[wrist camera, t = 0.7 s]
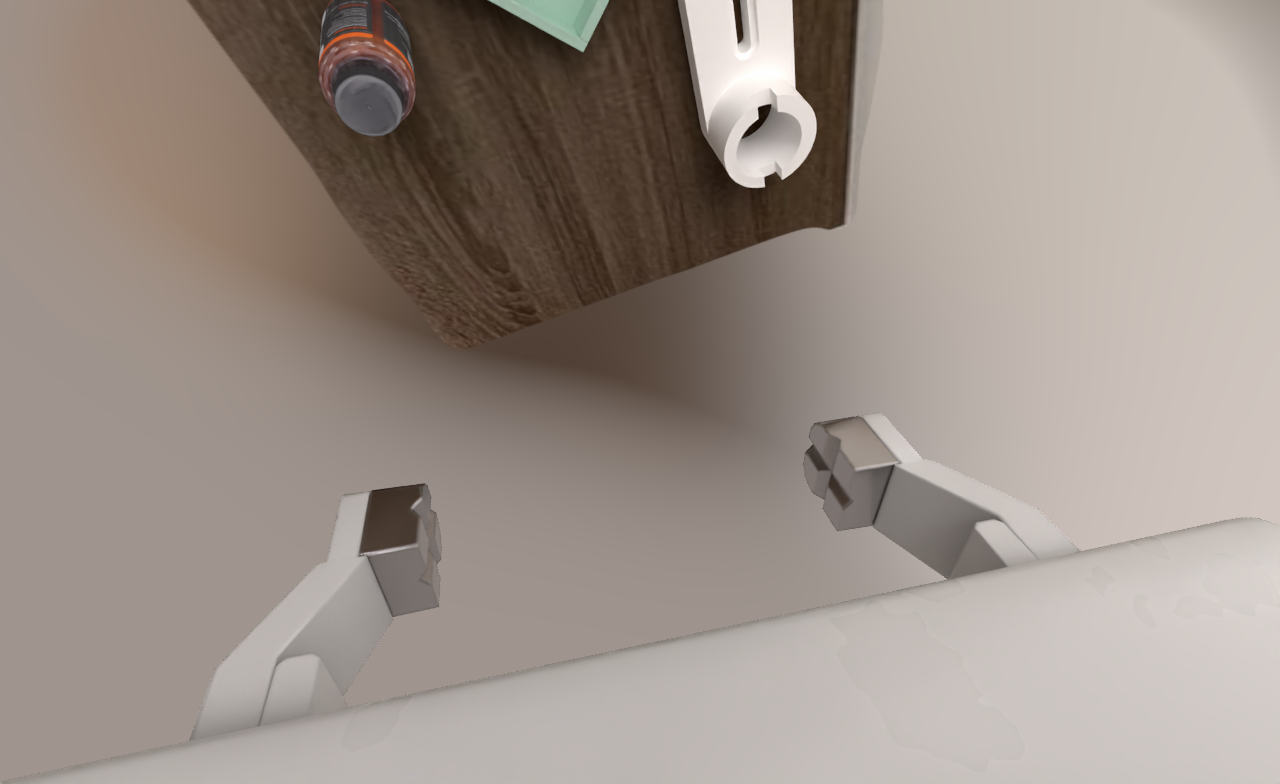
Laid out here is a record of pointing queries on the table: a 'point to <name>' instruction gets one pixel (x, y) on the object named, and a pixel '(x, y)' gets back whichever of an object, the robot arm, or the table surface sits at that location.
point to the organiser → (560, 17)
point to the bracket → (748, 86)
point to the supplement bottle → (366, 65)
